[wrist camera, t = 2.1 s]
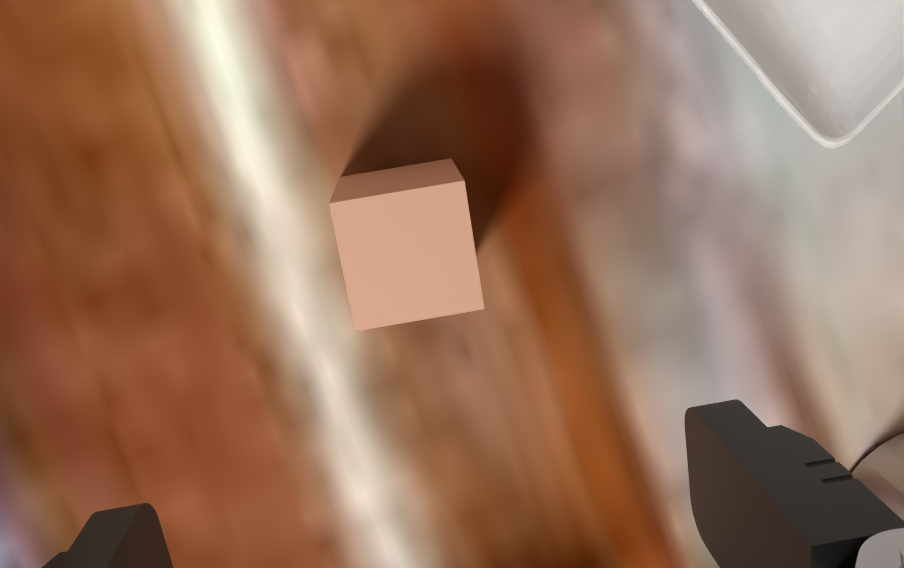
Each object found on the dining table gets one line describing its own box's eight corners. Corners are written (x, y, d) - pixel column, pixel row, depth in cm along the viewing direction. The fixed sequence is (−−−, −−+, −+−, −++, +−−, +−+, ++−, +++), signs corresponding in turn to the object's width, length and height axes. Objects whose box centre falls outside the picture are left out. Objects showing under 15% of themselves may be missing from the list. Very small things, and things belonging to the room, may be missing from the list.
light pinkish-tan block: (451, 158, 32) (464, 180, 26) (468, 265, 33) (484, 308, 27) (340, 176, 32) (329, 203, 26) (361, 283, 33) (355, 331, 27)
